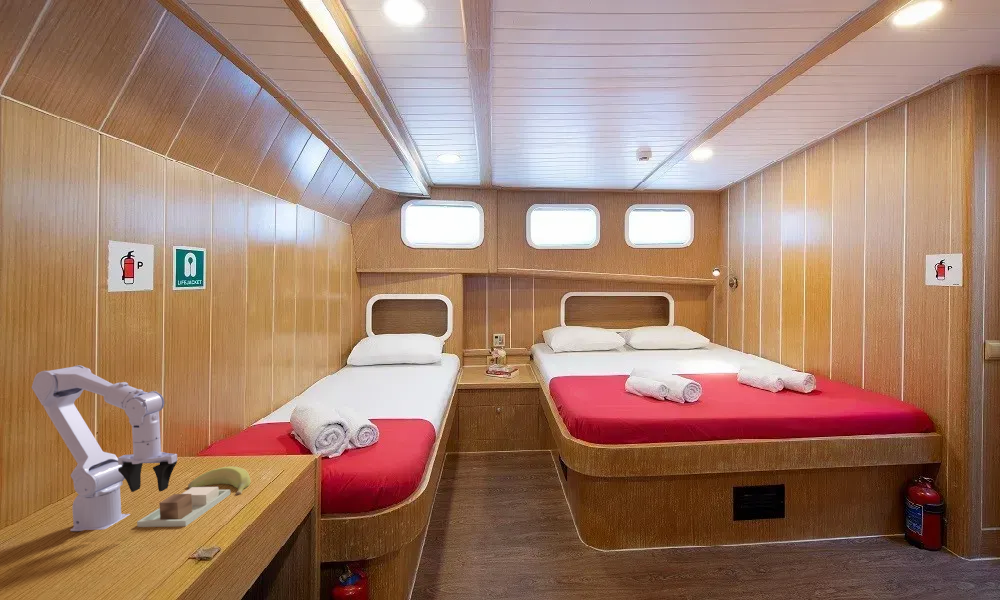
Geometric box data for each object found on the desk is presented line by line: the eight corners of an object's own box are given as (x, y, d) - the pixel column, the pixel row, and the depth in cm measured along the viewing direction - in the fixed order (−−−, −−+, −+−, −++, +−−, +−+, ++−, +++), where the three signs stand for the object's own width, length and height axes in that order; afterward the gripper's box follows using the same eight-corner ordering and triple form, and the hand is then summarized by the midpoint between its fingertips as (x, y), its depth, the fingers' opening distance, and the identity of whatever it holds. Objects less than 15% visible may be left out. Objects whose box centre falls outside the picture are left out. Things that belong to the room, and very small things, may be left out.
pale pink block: (179, 505, 126) (178, 495, 126) (192, 497, 132) (192, 487, 132) (206, 505, 126) (206, 494, 126) (218, 496, 131) (218, 486, 131)
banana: (230, 454, 148) (256, 476, 136) (235, 468, 150) (261, 490, 137) (184, 478, 138) (207, 504, 126) (189, 493, 140) (213, 519, 127)
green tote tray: (137, 529, 115) (137, 521, 115) (188, 496, 133) (188, 490, 133) (185, 528, 115) (185, 520, 115) (230, 496, 133) (230, 489, 133)
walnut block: (160, 521, 118) (159, 502, 118) (175, 511, 123) (174, 494, 123) (178, 521, 118) (177, 502, 118) (192, 511, 123) (191, 493, 123)
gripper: (106, 445, 113) (109, 497, 113) (161, 443, 112) (163, 496, 113) (130, 435, 120) (133, 485, 120) (182, 434, 120) (184, 484, 120)
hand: (149, 489), depth 117 cm, fingers open, 7 cm apart
